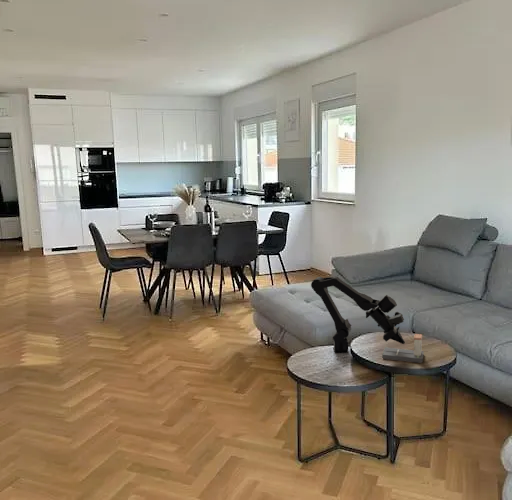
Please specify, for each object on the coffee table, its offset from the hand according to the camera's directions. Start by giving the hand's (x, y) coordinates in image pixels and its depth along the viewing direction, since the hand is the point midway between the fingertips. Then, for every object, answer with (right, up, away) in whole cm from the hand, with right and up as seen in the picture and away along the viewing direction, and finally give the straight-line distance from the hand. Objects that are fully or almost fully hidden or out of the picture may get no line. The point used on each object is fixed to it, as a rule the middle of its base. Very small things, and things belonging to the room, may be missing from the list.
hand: (404, 343), depth 234 cm
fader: (+6, -5, -2) cm, 8 cm away
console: (0, -7, +1) cm, 7 cm away
